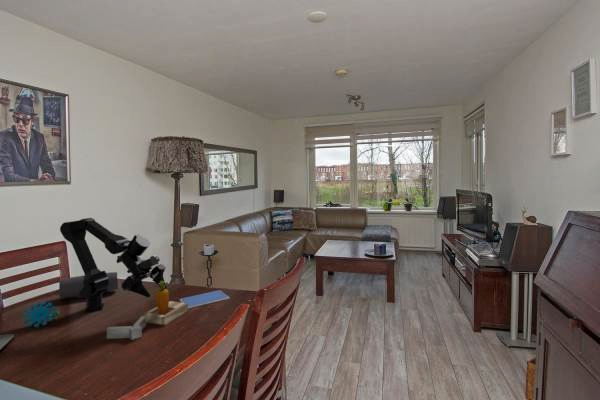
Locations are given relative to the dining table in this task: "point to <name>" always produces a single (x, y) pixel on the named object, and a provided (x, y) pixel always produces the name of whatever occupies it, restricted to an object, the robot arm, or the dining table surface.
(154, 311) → the socket block
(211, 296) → the tablet computer
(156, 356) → the dining table surface
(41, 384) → the dining table surface
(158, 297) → the carrot
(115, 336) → the v-block
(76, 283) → the bluetooth speaker
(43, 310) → the gear
